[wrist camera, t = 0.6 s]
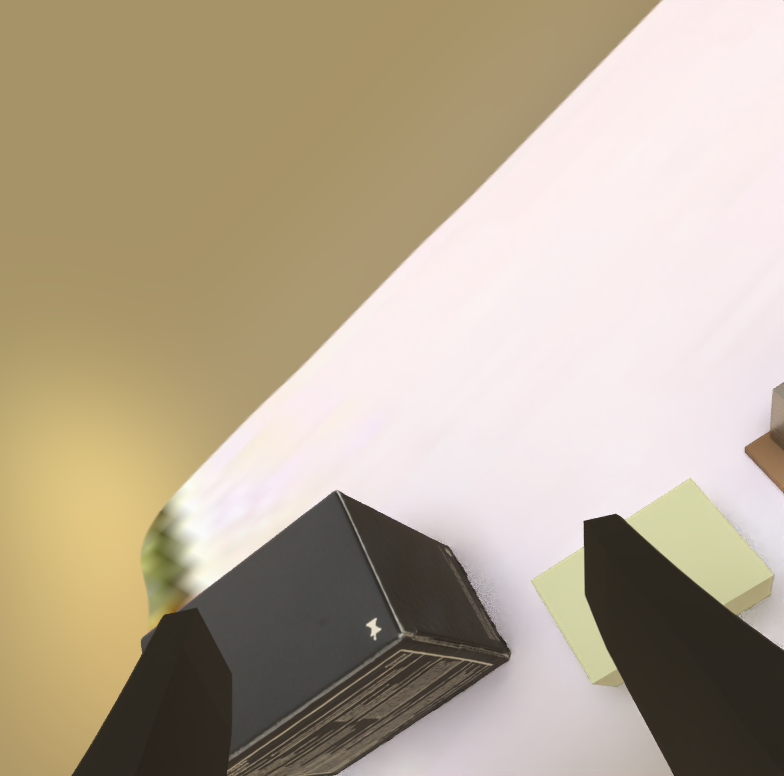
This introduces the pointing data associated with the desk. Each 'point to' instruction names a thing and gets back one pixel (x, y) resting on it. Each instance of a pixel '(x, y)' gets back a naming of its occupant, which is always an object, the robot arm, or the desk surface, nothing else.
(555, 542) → the desk surface
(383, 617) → the small box
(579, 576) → the sage book
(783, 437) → the steel bookend
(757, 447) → the walnut board
